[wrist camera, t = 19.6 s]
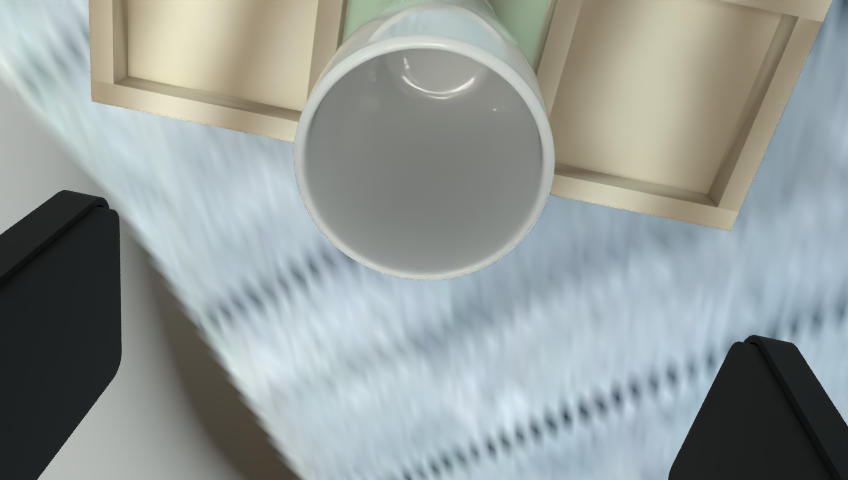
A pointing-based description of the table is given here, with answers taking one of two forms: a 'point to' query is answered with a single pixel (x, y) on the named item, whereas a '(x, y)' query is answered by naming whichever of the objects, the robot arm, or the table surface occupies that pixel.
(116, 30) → the wooden compartment tray
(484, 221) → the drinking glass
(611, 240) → the table surface
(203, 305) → the table surface
